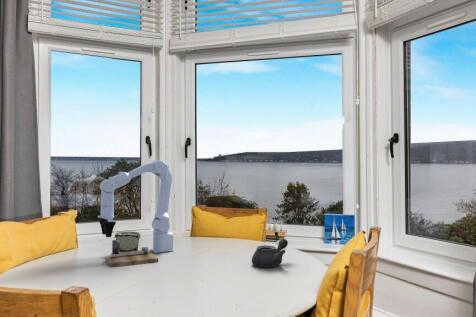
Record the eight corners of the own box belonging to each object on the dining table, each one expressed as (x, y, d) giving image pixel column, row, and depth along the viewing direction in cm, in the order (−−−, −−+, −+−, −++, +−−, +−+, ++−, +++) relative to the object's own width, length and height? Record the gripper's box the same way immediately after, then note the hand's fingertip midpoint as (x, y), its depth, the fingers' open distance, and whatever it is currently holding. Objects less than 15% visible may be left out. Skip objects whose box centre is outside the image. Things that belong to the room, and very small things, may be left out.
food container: (144, 252, 184) (144, 231, 184) (139, 255, 178) (140, 234, 178) (119, 251, 185) (119, 231, 185) (114, 254, 179) (114, 233, 179)
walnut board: (150, 255, 178) (151, 252, 178) (158, 261, 167) (158, 258, 167) (105, 260, 169) (105, 257, 169) (110, 267, 158) (110, 263, 158)
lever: (147, 251, 178) (147, 237, 178) (149, 253, 175) (149, 238, 175) (110, 255, 169) (110, 240, 170) (111, 257, 167) (112, 241, 167)
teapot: (276, 272, 153) (277, 247, 153) (245, 265, 162) (245, 241, 163) (299, 263, 168) (300, 240, 168) (270, 257, 177) (270, 235, 177)
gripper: (95, 204, 180) (94, 233, 180) (101, 207, 168) (100, 239, 167) (110, 204, 184) (110, 232, 184) (117, 207, 171) (117, 237, 171)
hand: (106, 235), depth 176 cm, fingers open, 7 cm apart
